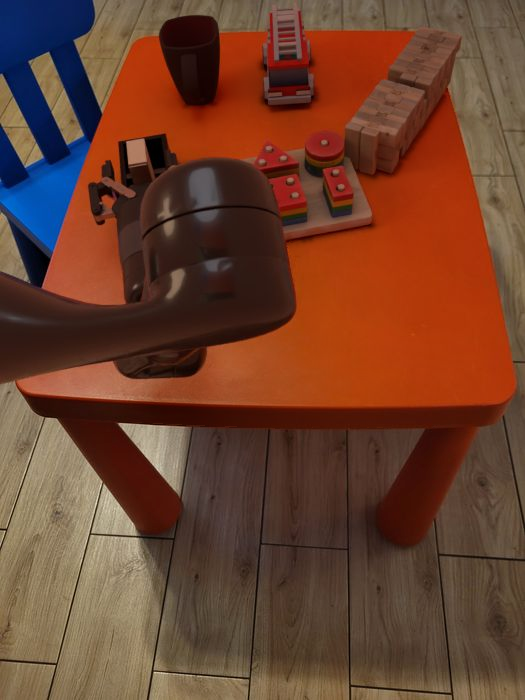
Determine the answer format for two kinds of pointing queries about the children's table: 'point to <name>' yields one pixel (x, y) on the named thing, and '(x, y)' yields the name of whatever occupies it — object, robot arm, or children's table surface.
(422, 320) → the children's table surface
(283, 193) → the shape sorter
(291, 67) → the toy fire truck
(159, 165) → the caddy
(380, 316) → the children's table surface
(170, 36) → the cup
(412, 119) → the block tower
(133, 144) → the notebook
